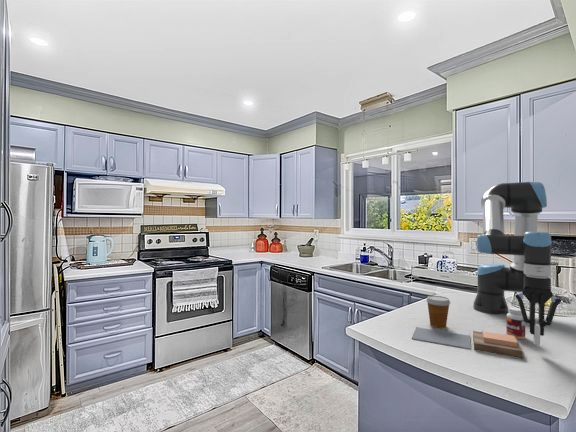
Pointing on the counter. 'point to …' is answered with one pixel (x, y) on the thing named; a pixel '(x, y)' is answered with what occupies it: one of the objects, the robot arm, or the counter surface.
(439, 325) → the disposable coffee cup
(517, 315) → the pill bottle
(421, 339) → the mat
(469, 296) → the counter surface
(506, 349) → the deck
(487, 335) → the card
